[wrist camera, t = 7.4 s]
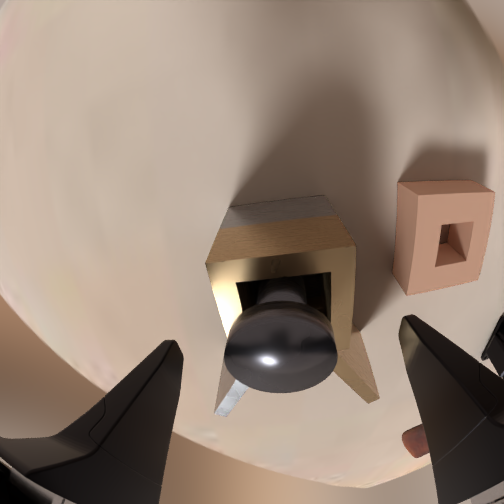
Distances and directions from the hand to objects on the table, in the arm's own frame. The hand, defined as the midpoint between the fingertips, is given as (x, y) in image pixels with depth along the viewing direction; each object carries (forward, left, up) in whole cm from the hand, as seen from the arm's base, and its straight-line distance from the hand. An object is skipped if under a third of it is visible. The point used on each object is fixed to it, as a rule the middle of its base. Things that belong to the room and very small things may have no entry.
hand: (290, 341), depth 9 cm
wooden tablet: (-25, +44, -8) cm, 51 cm away
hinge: (0, +3, -8) cm, 8 cm away
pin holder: (-10, 0, -8) cm, 12 cm away
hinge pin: (0, 0, -8) cm, 8 cm away
